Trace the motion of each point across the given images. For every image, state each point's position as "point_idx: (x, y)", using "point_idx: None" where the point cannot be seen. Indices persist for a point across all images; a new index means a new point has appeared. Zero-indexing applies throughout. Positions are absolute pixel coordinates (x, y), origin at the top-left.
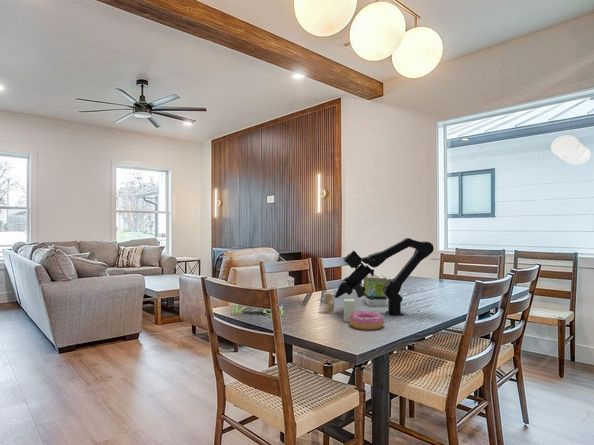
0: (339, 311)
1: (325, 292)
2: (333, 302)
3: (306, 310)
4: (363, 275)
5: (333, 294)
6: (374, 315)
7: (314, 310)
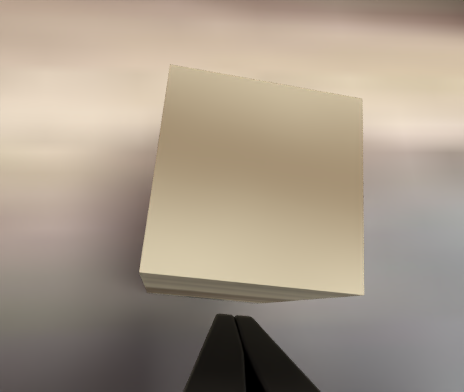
0: None
1: (344, 108)
2: (211, 292)
3: (251, 25)
4: None
5: (244, 284)
6: None
7: None
